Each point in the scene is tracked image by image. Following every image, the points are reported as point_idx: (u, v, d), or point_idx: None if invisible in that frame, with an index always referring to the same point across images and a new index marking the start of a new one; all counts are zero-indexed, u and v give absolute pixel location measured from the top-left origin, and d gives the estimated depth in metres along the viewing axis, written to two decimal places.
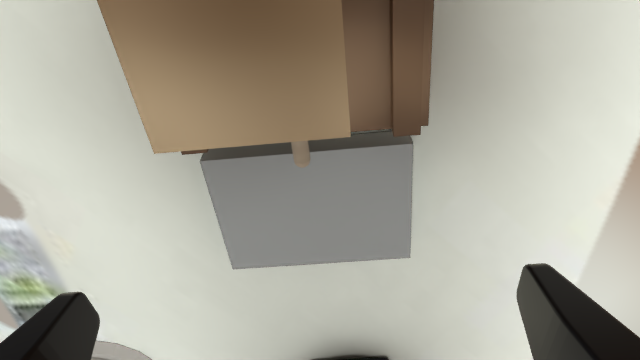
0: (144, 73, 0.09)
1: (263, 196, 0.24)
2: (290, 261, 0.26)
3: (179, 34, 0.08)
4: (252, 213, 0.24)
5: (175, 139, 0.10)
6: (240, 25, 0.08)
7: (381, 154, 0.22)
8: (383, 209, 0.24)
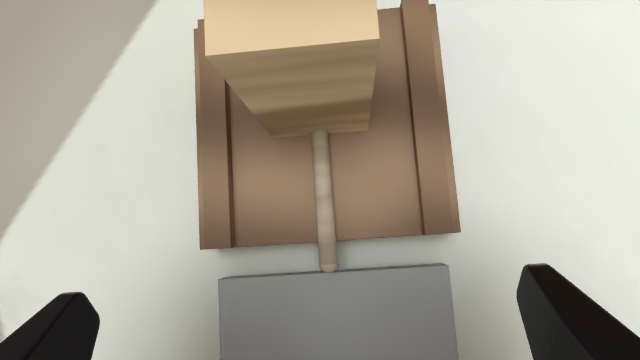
0: None
1: (280, 331, 0.20)
2: None
3: None
4: (263, 357, 0.20)
5: (227, 41, 0.11)
6: None
7: (415, 277, 0.20)
8: (423, 358, 0.20)
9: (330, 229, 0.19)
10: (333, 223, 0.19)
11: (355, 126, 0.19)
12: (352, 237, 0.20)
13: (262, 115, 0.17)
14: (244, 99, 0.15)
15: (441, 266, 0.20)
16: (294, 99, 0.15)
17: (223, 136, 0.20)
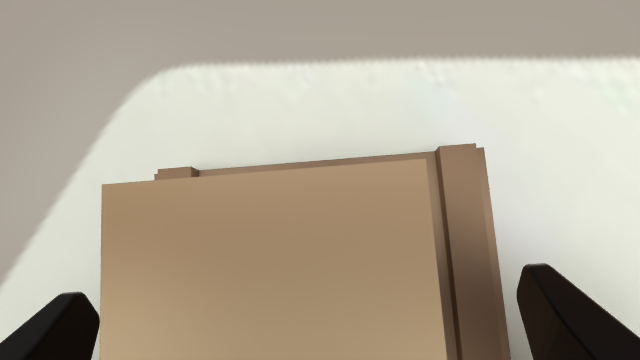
0: (130, 341, 0.06)
1: None
2: None
3: (197, 283, 0.06)
4: None
5: None
6: (286, 274, 0.06)
7: None
8: None
9: None
10: None
11: None
12: None
13: None
14: None
15: None
16: None
17: None
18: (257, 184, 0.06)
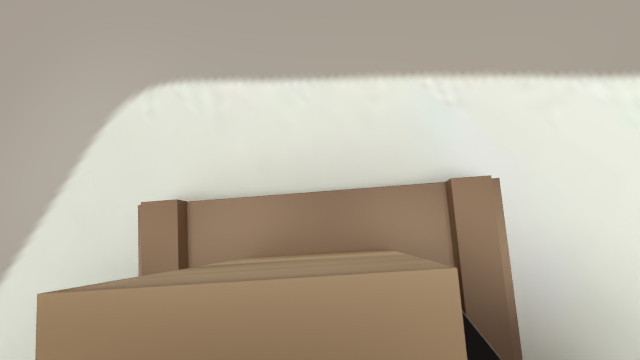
0: None
1: None
2: None
3: None
4: None
5: None
6: None
7: None
8: None
9: None
10: None
11: None
12: None
13: None
14: None
15: None
16: None
17: None
18: (237, 298, 0.04)
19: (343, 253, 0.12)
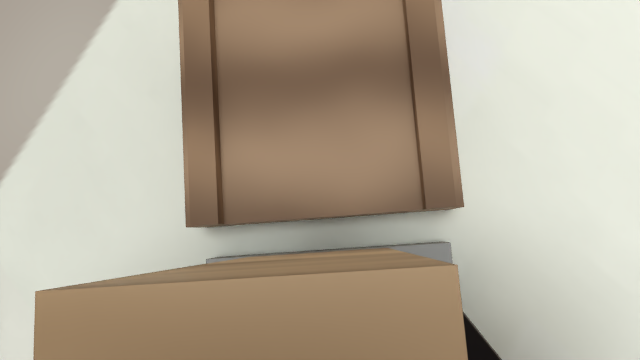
0: None
1: None
2: None
3: None
4: None
5: None
6: None
7: None
8: None
9: None
10: None
11: None
12: (348, 213, 0.18)
13: None
14: None
15: (443, 243, 0.19)
16: None
17: (210, 106, 0.19)
18: (236, 295, 0.04)
19: (343, 252, 0.12)
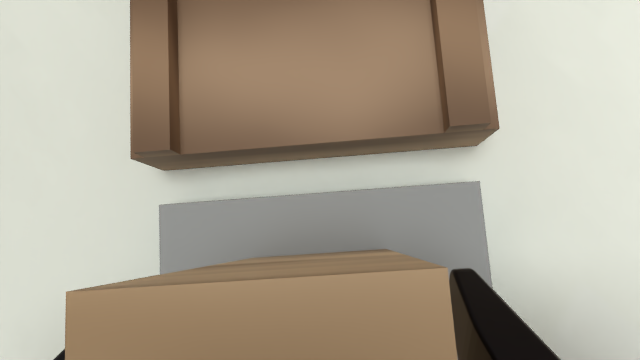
0: None
1: None
2: None
3: None
4: None
5: None
6: None
7: (433, 198, 0.14)
8: None
9: None
10: None
11: None
12: (344, 138, 0.14)
13: None
14: None
15: (470, 183, 0.14)
16: None
17: None
18: (248, 295, 0.05)
19: (343, 253, 0.12)
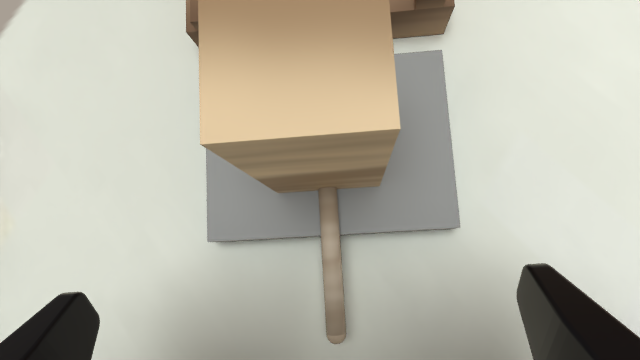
0: (216, 65, 0.10)
1: None
2: (289, 229, 0.19)
3: (254, 33, 0.10)
4: None
5: (225, 128, 0.10)
6: (306, 26, 0.10)
7: (407, 62, 0.19)
8: (415, 140, 0.19)
9: (338, 296, 0.17)
10: (342, 289, 0.18)
11: (366, 184, 0.18)
12: None
13: (265, 179, 0.15)
14: (245, 170, 0.13)
15: (435, 51, 0.19)
16: (301, 169, 0.14)
17: None
18: None
19: None
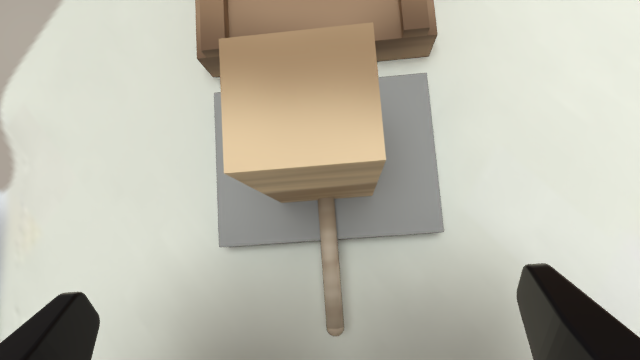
0: (235, 107, 0.12)
1: None
2: (292, 235, 0.21)
3: (266, 81, 0.12)
4: None
5: (243, 160, 0.12)
6: (308, 75, 0.12)
7: (396, 84, 0.22)
8: (403, 154, 0.21)
9: (337, 294, 0.20)
10: (339, 288, 0.20)
11: (360, 194, 0.20)
12: None
13: (272, 194, 0.17)
14: (256, 188, 0.16)
15: (420, 74, 0.22)
16: (304, 186, 0.16)
17: None
18: (294, 36, 0.12)
19: None
